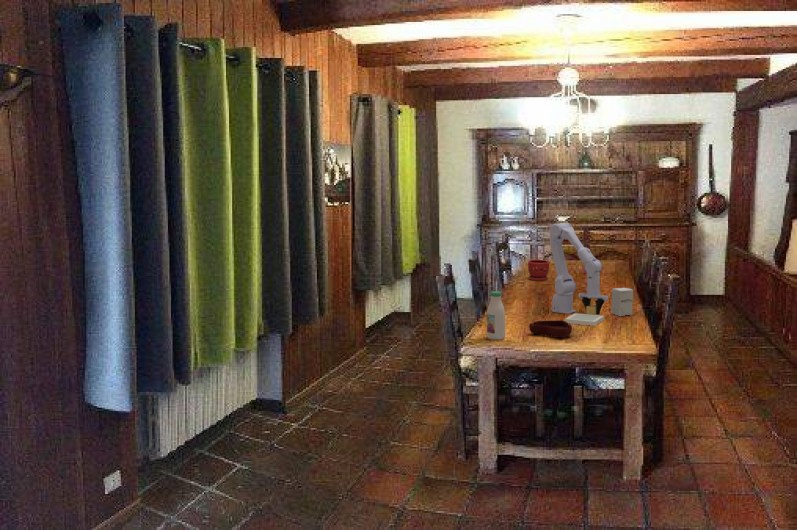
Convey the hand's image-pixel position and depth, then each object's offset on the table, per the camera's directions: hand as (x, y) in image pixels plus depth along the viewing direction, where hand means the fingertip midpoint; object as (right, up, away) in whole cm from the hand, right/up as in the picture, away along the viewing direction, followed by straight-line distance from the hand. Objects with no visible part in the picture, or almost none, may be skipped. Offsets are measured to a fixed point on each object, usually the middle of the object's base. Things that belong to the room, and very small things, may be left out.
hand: (593, 313), depth 344 cm
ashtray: (-26, -7, -32) cm, 42 cm away
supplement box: (+15, -1, +3) cm, 15 cm away
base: (-7, -3, -10) cm, 12 cm away
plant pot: (-5, +14, +110) cm, 111 cm away
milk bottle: (-51, -8, -36) cm, 63 cm away
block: (0, -1, 0) cm, 1 cm away
